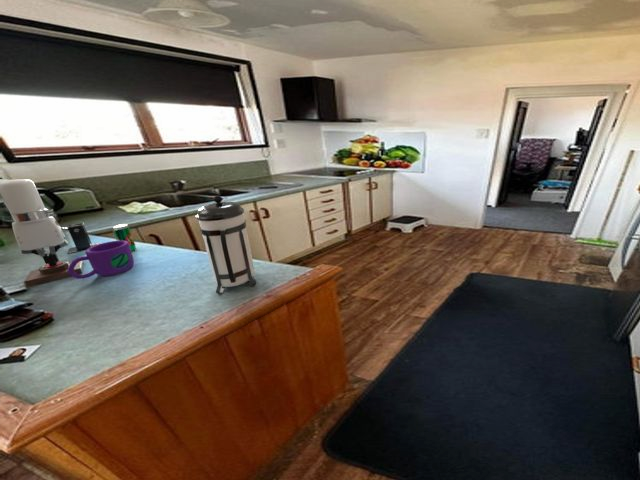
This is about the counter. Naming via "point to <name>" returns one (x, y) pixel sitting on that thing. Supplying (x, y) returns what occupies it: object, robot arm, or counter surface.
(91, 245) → the switch bracket
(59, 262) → the lamp button
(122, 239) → the soda can
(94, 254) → the mug
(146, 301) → the counter surface
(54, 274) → the lamp base
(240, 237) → the coffee press
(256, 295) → the counter surface
